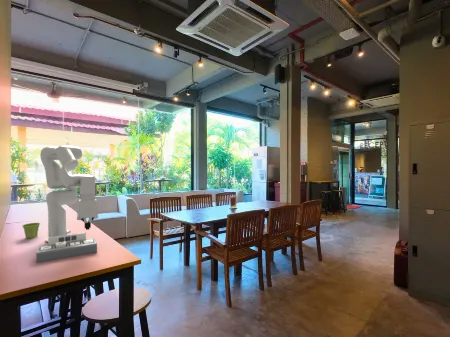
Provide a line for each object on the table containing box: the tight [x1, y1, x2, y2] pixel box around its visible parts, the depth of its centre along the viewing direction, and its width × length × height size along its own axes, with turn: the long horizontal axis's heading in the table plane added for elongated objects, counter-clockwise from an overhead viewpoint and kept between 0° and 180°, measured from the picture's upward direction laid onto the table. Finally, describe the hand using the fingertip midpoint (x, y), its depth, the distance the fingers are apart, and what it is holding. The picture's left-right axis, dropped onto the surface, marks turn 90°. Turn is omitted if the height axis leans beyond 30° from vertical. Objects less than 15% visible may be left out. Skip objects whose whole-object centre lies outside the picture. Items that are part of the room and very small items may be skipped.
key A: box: [40, 246, 52, 251], centre depth 131 cm, size 5×5×3 cm
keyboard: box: [35, 232, 98, 264], centre depth 136 cm, size 27×12×9 cm, turn 124°
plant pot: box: [22, 222, 41, 240], centre depth 166 cm, size 9×9×9 cm
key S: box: [56, 241, 66, 248], centre depth 134 cm, size 5×5×3 cm
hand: (87, 229), depth 142 cm, fingers closed
